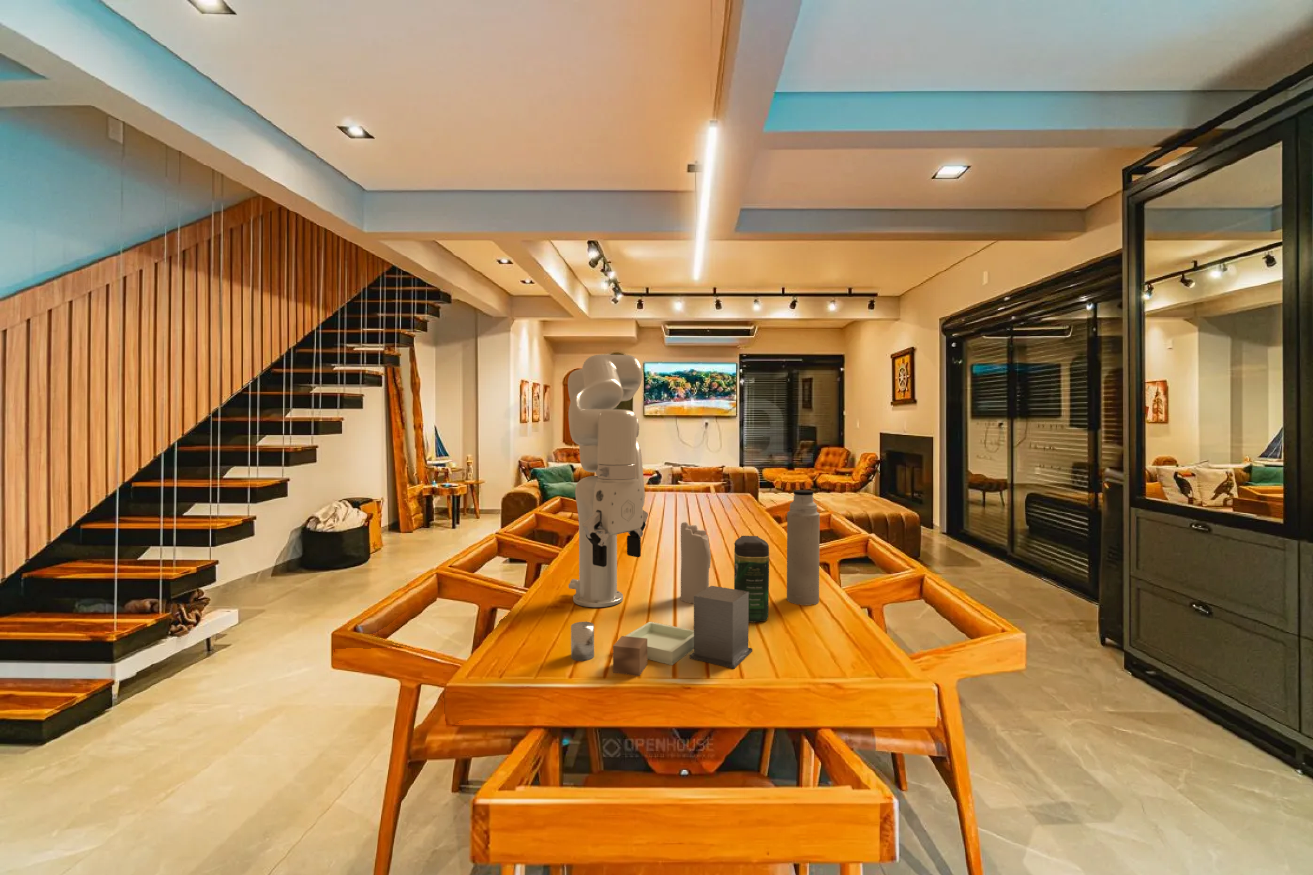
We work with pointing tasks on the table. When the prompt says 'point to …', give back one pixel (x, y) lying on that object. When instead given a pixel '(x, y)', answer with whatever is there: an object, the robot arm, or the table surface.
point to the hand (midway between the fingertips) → (617, 560)
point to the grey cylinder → (582, 641)
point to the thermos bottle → (803, 549)
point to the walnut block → (630, 655)
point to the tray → (665, 641)
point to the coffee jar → (753, 574)
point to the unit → (721, 626)
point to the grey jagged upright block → (694, 561)
